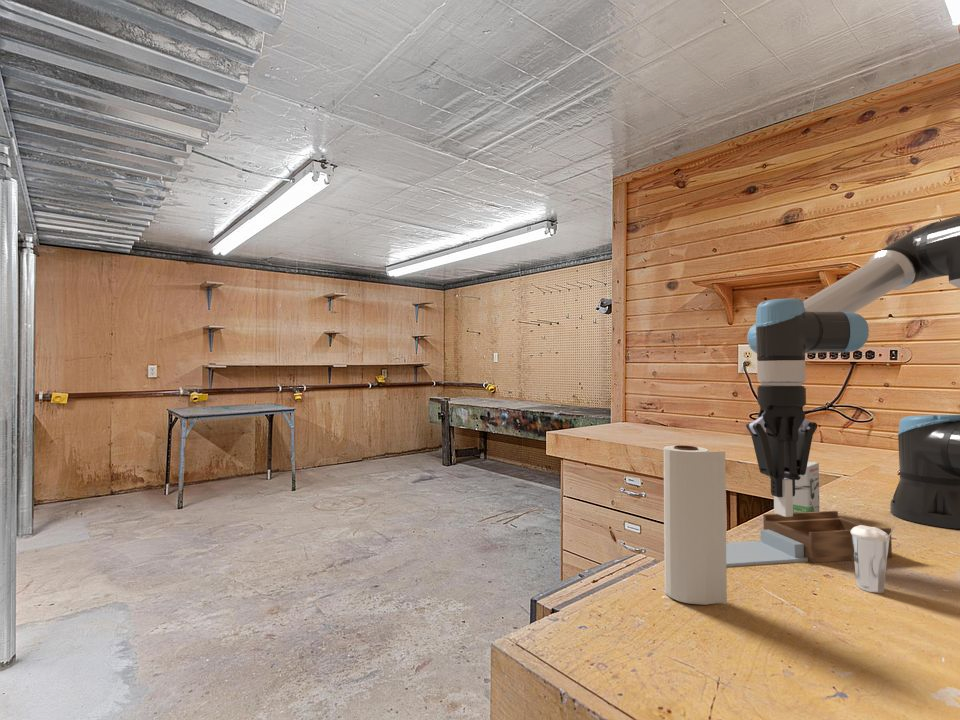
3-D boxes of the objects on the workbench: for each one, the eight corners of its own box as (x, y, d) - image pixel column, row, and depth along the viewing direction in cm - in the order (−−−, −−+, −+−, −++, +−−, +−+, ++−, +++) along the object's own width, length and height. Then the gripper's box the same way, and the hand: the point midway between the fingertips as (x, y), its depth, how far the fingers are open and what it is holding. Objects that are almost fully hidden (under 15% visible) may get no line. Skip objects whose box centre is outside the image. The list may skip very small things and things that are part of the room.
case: (835, 536, 95) (835, 510, 95) (891, 557, 84) (891, 528, 85) (763, 540, 93) (763, 514, 93) (811, 562, 82) (811, 533, 82)
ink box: (809, 520, 106) (808, 466, 106) (783, 515, 110) (783, 463, 110) (820, 512, 112) (819, 461, 112) (795, 508, 115) (795, 458, 116)
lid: (767, 545, 92) (767, 528, 92) (808, 564, 83) (807, 545, 83) (690, 550, 89) (690, 532, 89) (723, 570, 80) (723, 550, 80)
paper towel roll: (655, 590, 71) (654, 445, 72) (687, 583, 73) (685, 443, 74) (693, 613, 65) (692, 452, 65) (727, 605, 67) (725, 450, 67)
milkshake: (888, 600, 68) (886, 529, 69) (845, 585, 73) (844, 519, 73) (903, 593, 70) (902, 524, 71) (860, 579, 75) (859, 515, 75)
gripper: (795, 383, 93) (798, 507, 92) (734, 384, 91) (736, 510, 90) (830, 384, 85) (832, 518, 85) (764, 385, 83) (766, 522, 83)
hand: (783, 514), depth 87 cm, fingers closed
